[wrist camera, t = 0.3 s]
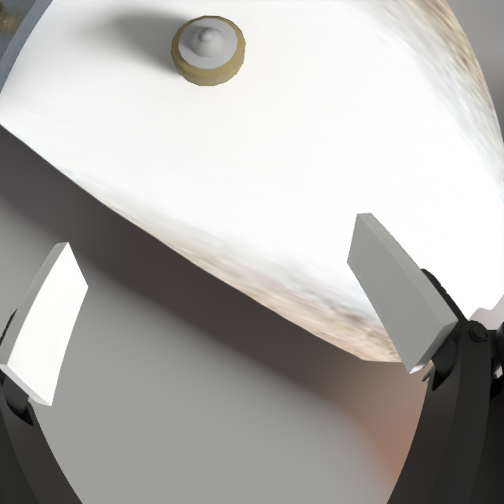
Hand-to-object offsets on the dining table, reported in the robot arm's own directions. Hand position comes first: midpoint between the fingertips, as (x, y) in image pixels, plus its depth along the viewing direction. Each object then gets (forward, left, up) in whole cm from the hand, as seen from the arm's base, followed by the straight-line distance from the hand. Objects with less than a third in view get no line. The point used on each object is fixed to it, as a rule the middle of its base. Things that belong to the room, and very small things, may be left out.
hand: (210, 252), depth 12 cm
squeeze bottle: (-10, 0, -28) cm, 30 cm away
